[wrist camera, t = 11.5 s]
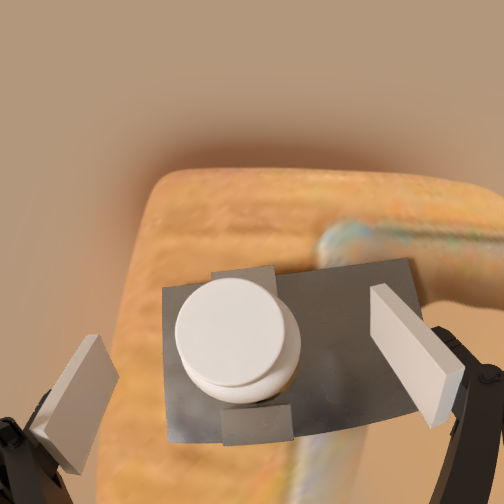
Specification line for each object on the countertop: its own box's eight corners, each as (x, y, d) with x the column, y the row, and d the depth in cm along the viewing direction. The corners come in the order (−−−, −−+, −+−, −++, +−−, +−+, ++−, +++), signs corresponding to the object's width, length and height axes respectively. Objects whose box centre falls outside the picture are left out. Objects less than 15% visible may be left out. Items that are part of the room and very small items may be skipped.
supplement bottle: (268, 305, 21) (258, 234, 12) (310, 374, 19) (336, 355, 10) (197, 343, 20) (135, 300, 12) (235, 415, 18) (196, 431, 9)
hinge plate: (400, 265, 23) (416, 245, 20) (428, 404, 18) (450, 404, 15) (168, 294, 24) (152, 277, 20) (175, 440, 19) (157, 446, 16)
